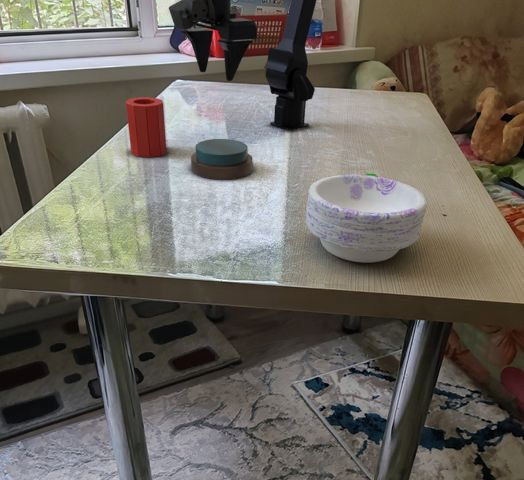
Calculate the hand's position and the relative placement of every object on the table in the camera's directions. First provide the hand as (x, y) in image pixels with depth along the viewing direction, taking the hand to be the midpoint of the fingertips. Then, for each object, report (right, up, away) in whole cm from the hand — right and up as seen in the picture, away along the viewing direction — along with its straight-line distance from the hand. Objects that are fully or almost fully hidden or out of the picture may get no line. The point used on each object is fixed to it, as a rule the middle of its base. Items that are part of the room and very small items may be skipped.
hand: (215, 76), depth 105 cm
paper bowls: (+22, -39, -30) cm, 54 cm away
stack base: (+2, -20, -6) cm, 21 cm away
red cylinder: (-13, -15, 0) cm, 19 cm away
